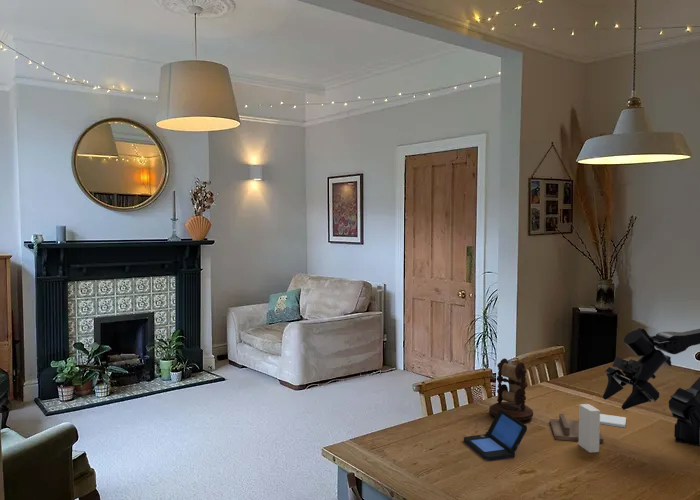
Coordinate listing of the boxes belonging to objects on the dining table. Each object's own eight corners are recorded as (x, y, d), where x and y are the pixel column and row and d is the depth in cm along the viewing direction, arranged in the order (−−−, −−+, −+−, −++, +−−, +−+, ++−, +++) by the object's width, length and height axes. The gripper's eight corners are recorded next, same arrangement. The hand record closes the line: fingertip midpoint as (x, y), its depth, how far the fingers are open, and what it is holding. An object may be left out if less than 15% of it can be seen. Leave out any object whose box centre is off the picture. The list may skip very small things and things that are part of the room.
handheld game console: (461, 441, 177) (462, 412, 177) (500, 436, 181) (500, 408, 181) (487, 462, 162) (487, 430, 162) (528, 456, 166) (528, 425, 165)
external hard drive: (625, 429, 188) (584, 423, 193) (626, 421, 195) (587, 415, 201) (625, 424, 188) (584, 418, 193) (626, 417, 195) (587, 411, 201)
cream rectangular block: (587, 443, 174) (588, 404, 174) (599, 451, 169) (600, 410, 168) (578, 444, 174) (579, 404, 173) (589, 452, 168) (590, 411, 167)
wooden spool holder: (541, 417, 197) (542, 361, 196) (516, 428, 188) (517, 368, 187) (505, 406, 209) (506, 353, 207) (480, 416, 199) (481, 359, 198)
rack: (593, 425, 190) (594, 414, 189) (603, 443, 175) (603, 431, 175) (549, 422, 193) (549, 411, 192) (555, 439, 178) (555, 428, 178)
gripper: (611, 341, 181) (578, 377, 180) (651, 355, 162) (615, 395, 161) (633, 364, 182) (601, 400, 181) (675, 381, 164) (639, 421, 163)
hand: (612, 403), depth 172 cm, fingers open, 9 cm apart
